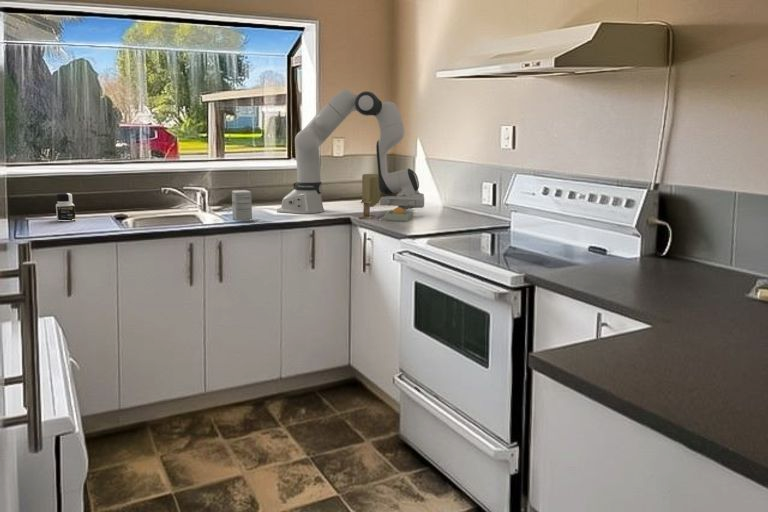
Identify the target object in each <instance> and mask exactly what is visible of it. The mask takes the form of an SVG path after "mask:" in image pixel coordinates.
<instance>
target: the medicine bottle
mask: <svg viewBox="0 0 768 512" xmlns="http://www.w3.org/2000/svg"><path fill="white" fill-rule="evenodd" d="M56 201H57V203H56V204H55V212H56V213H55V214H56V220H57V219H58V220H72V219H76V220H77V217H76V206H75V204H74V203H73V194H72V193H70V192H60V193H57V194H56Z"/></svg>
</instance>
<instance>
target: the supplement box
mask: <svg viewBox="0 0 768 512" xmlns="http://www.w3.org/2000/svg"><path fill="white" fill-rule="evenodd" d="M252 202H253V201H252V191H249V190H247V189H241V190H240V189H239V190H238V189H237V190H231V203H232V204H231V207H232V208H231V209H232V210H231V211H232V219H233V220H235V221H236V220H243V221H251V220H250V219H252V220H253V209H252V208H253V205H252V204H253V203H252Z"/></svg>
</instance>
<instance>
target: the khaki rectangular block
mask: <svg viewBox="0 0 768 512" xmlns="http://www.w3.org/2000/svg"><path fill="white" fill-rule="evenodd" d="M361 177H362V178H361V181H362V182H361V183H362V184H361V186H362V188H361V189H362V190H361V191H362V192H361V195H362V196H361V201H362V200H363V199H366V201H367V200H369V199H372V202H371V203H370V207H371V208H372V207H374V206H375V205H376V204H377V203H380V198H381V192H380V189H379V186H378V173H363V174H362V176H361Z"/></svg>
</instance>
